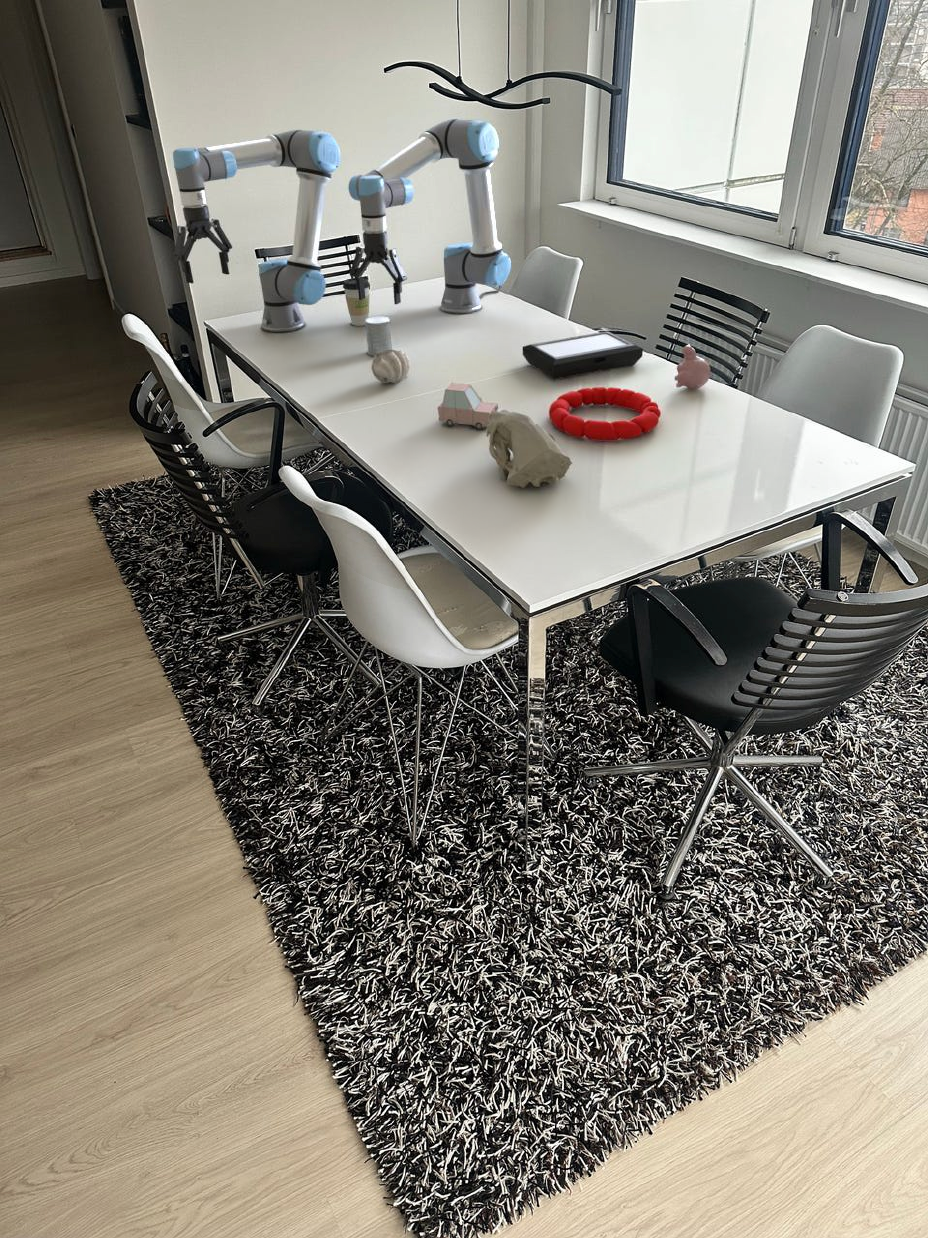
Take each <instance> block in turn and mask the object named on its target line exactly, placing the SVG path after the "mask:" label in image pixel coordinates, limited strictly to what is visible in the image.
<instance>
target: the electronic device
mask: <svg viewBox="0 0 928 1238" xmlns="http://www.w3.org/2000/svg"><path fill="white" fill-rule="evenodd" d="M643 353H644V348H643V347H642V346H639V345H637V344H635V343H633V342H631V341H629V340H627V339H625V338H623V337H621V336H619V335H617V334H615V333H613V332H610V331H608V330H606V331H600V332H594V333H589V334H583V335H578V336H572V337H566V338H561V339H555V340H548V341H544V342H543V341H542V342H537V343H532V344H527V345H524V346H522V356H523V358H525V360H526V361H527V363H528V365H530V366H532V367H533V368H535V369H537V370H538V371H540V372H542V373H544V374H545V375H547V376H548V377H550V378H551V379H553V380H554V381H555V380H558V379H565V378H569V377H575V376H581V375H586V374H592V373H597V372H601V371H608V370H613V369H617V368H618V369H619V368H624V367H627V366H635V365H636V363H638V362H639V361H640V360H641V358H643V355H644V354H643Z"/></svg>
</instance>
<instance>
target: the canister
mask: <svg viewBox="0 0 928 1238" xmlns="http://www.w3.org/2000/svg"><path fill="white" fill-rule="evenodd" d="M365 324H366V325H365V333H366V346H367V354H368V355H369V356H371V357H375V354H376V353H383V352H384V351H385V350H393V344H392V329H391V328H392V327H391V318H389V317H387V316H381V315H380V316H379V315H378V316H369V317H368V318H367V319H366V320H365Z"/></svg>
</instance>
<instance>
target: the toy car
mask: <svg viewBox="0 0 928 1238" xmlns="http://www.w3.org/2000/svg"><path fill="white" fill-rule="evenodd" d="M498 409H499V404H498V403H497V402H490V401H489V402H487V401H483V397H481V396H480V395H479V394H478V393H477V391H476V390H475V389H474V386H472V384H469V383H459V382H451V383H450V384H449V385H448V386H447V387H446V388H445V389H444V394H443V399H442V403H440V404H439V405H438V406H437V413H438V421H439V422H443V423H446V425H447V426H448V427H452V426H454V425H455V424H461V425H469V426H473V427H475V429H476V430H479V431H480V430H481V429H483V428H485V427H486V428H487V423H488V422H490V414H491V413H492V412H496V411H499V410H498Z"/></svg>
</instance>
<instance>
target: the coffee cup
mask: <svg viewBox="0 0 928 1238" xmlns="http://www.w3.org/2000/svg"><path fill="white" fill-rule="evenodd" d="M363 278H364V286H365V299H362V300H359V294H358V289H357V288H356V280H355V277H351V278H347V279H345V280H344V281H343V285H342V288H343V290H344V297H345V301H346V305H347V310H348V314H349V318H350V323H351V325H353V326H357V327H359V326H366V324H365V320H366V319H367V318H370V316H369V313H370V287H371V283H370V282H369V279H367V278H365V277H363Z"/></svg>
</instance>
